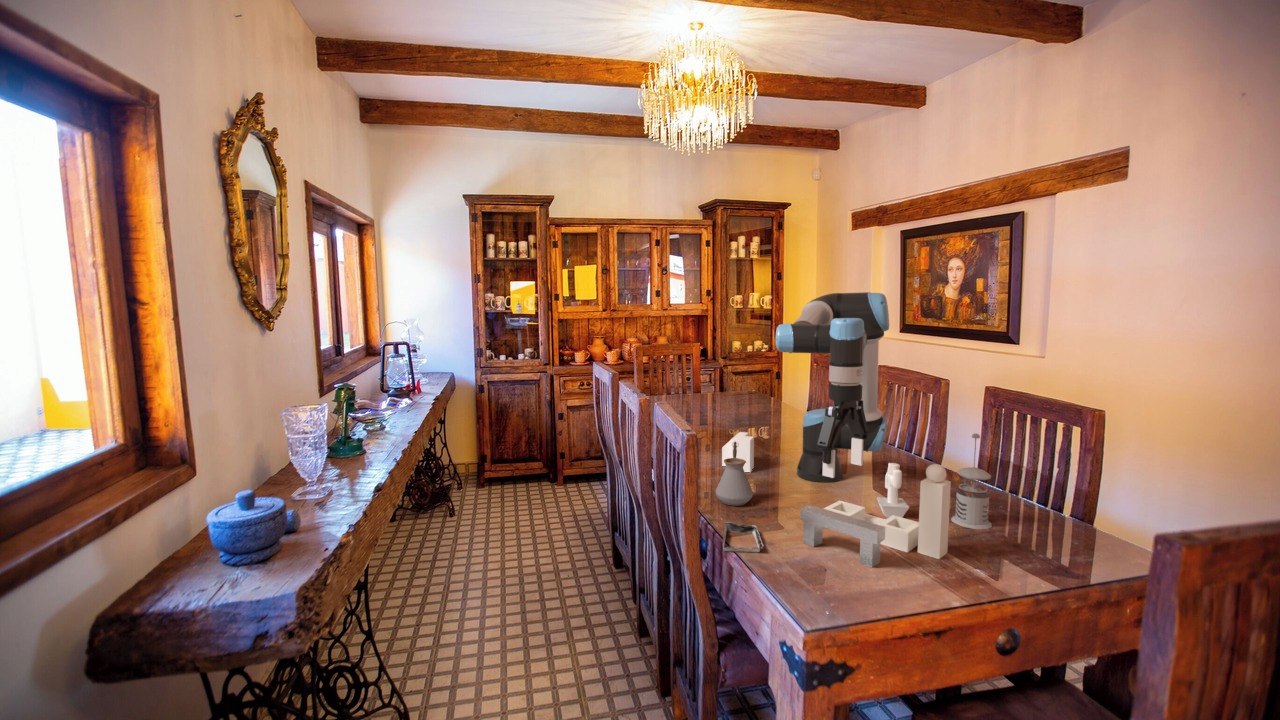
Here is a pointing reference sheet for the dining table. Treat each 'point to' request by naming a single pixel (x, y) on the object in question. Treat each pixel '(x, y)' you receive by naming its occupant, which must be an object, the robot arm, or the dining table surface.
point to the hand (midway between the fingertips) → (843, 470)
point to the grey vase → (734, 482)
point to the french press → (972, 499)
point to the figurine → (893, 493)
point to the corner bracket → (740, 450)
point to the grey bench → (843, 531)
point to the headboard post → (908, 532)
